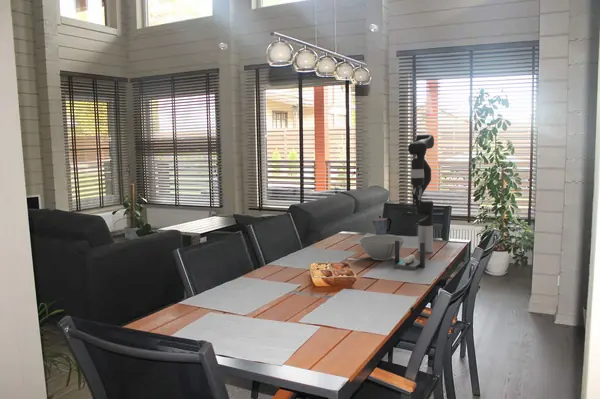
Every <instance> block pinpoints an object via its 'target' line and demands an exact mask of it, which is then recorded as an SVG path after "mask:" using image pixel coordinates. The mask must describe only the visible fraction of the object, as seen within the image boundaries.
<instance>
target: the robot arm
mask: <svg viewBox="0 0 600 399" xmlns="http://www.w3.org/2000/svg"><path fill="white" fill-rule="evenodd" d="M434 144H435V139H434V135H432V134H428V133H427V134H417V135H416V137H415V141H414V142H413V141H412V142H410V143H409V144H408V146H407V147H408V148H407V152H408V153H409V154H410V155H412V156H415V155H416V158H413V159H411V168H410V169H411V170H410V185H411V186H413V188H412V189H413V190H412V191H411V193H412V197H413V200H414V203H415V212H416V214H417V215H418V216H419V215H420V216H421V215H424V216H426V215H427V216H426V217H425V218H422V219H419V220H418V221H417V223H418V225H417V226H418V227H417V229H418V230H417V234H418V236H417V237H418V240H417V247H418V248H417V249H418V250H417V251H418V252H419V253H420V243H425V254H426V253H433V252H434V202H433V200H429V199H428V200H422V197H423V194H424V192H425V191H426V189H427V187H429V185H430V183H431V181H432V169H431V166H430V165H429V163H428V161H427V160H426V159H425V156H426V153H427V150H429V149H430V150H431V149H432V148H434Z"/></svg>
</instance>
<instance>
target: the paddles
mask: <svg viewBox="0 0 600 399" xmlns="http://www.w3.org/2000/svg"><path fill="white" fill-rule="evenodd" d="M403 259H404V262H405V263H410V261H413V260H416V256H415V254H408V255H406V257H403Z"/></svg>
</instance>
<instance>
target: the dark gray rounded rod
mask: <svg viewBox="0 0 600 399" xmlns="http://www.w3.org/2000/svg"><path fill="white" fill-rule="evenodd" d="M398 262H400V250H399V241H395V255H394V265H395V264H396V263H398Z"/></svg>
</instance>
